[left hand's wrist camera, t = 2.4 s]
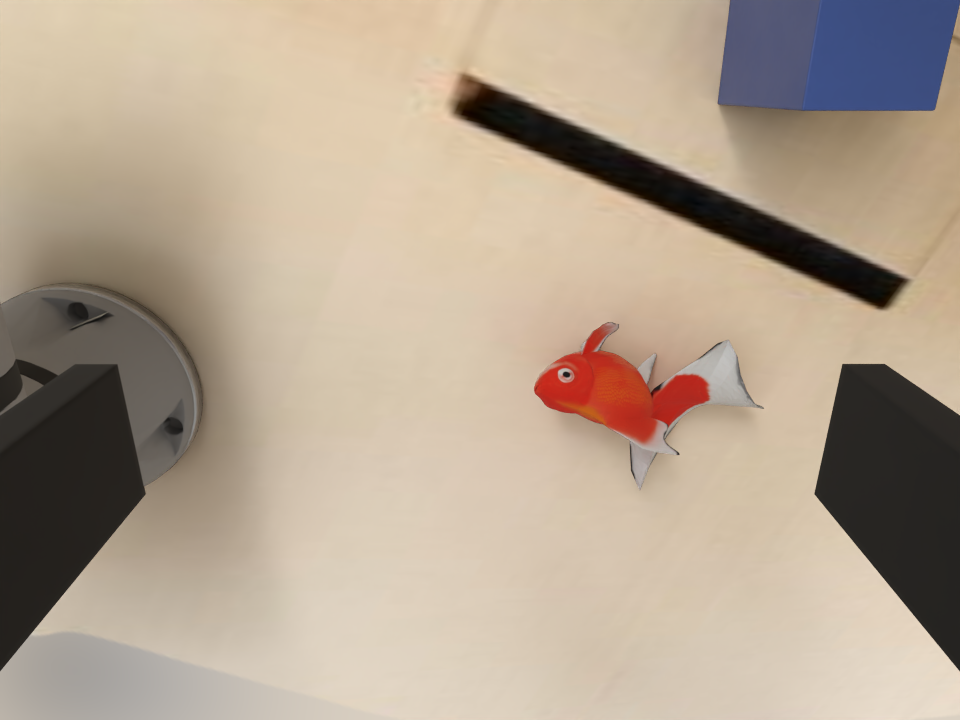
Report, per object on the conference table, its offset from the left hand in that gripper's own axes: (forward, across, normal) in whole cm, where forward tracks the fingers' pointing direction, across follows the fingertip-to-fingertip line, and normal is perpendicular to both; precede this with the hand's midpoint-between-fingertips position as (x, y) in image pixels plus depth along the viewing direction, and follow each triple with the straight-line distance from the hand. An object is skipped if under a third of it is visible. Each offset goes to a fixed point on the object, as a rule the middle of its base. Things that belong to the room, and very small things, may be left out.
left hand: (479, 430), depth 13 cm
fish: (+33, -11, +12) cm, 37 cm away
